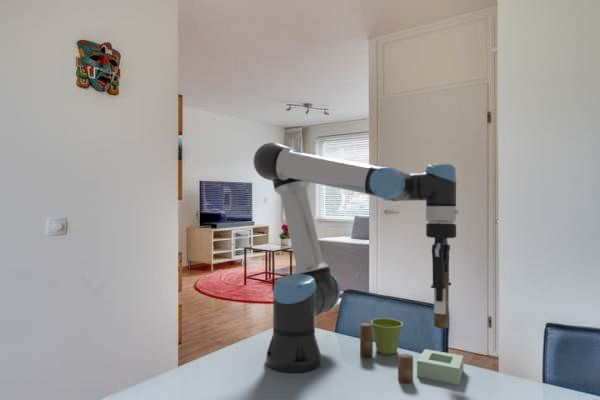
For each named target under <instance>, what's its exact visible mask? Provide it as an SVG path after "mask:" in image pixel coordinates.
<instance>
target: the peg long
mask: <svg viewBox="0 0 600 400" xmlns="http://www.w3.org/2000/svg"><path fill="white" fill-rule="evenodd" d="M449 282H450V272H449V273H447V272H445V289H446V314H437V313H434V312H433V325H434V327H436V328H438V329H448V328H449V326H450V325H449V323H450V322H449V320H450V318H449V315H450V312H449V311H450V310H449V308H450V307H449V304H450V303H449V301H450V299H449V297H450V296H449V290H450V289H449V288H450V285H449Z"/></svg>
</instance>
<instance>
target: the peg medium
mask: <svg viewBox="0 0 600 400" xmlns="http://www.w3.org/2000/svg"><path fill="white" fill-rule="evenodd" d="M359 326H360V329H359V330H360V331H359V332H360V337H359V338H360V339H359V340H360V342H359V349H360V350H359V357H361V358H363V359H372V358H373V355H374V354H373V353H374V352H373V346H374V344H373V342H374V339H373V338H374V329H373V325H372V324H371V323H367V322H365V323H360V324H359Z"/></svg>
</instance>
